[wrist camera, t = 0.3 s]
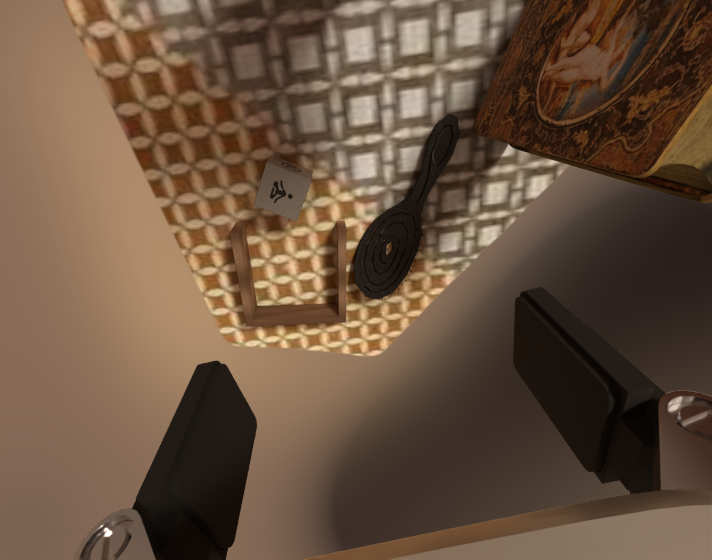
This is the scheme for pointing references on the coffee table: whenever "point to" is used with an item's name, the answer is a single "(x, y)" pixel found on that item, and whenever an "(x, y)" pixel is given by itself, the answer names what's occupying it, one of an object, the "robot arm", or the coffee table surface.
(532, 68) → the book
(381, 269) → the hairbrush
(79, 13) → the coffee table surface
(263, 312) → the box
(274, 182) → the dice cube
